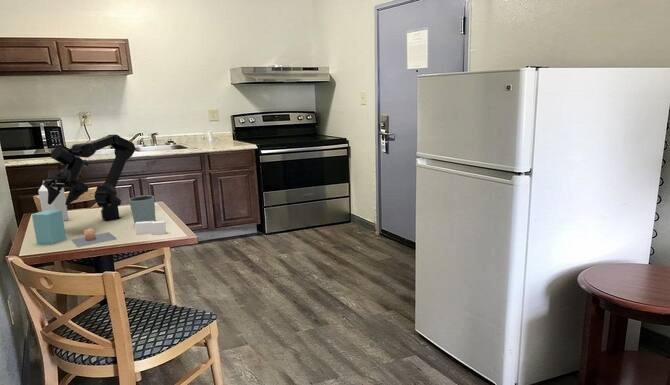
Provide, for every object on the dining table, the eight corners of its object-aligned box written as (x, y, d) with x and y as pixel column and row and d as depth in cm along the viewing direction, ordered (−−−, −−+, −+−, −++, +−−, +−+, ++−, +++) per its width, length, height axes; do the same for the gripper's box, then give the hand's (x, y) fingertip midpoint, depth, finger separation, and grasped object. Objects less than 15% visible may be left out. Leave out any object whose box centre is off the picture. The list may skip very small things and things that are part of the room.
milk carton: (57, 223, 209) (50, 182, 205) (43, 223, 211) (36, 182, 207) (68, 219, 216) (62, 179, 212) (55, 219, 218) (49, 179, 214)
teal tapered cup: (161, 221, 206) (158, 195, 204) (151, 227, 197) (148, 200, 194) (138, 221, 207) (135, 195, 204) (128, 228, 197) (124, 200, 194)
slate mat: (109, 232, 191) (108, 232, 191) (117, 239, 181) (117, 238, 181) (70, 240, 183) (70, 239, 183) (77, 248, 173) (77, 247, 173)
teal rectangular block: (51, 238, 186) (46, 209, 183) (66, 239, 184) (61, 210, 182) (37, 244, 179) (31, 214, 177) (52, 245, 178) (47, 214, 175)
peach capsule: (94, 237, 185) (93, 227, 184) (96, 239, 182) (95, 229, 181) (84, 239, 182) (83, 229, 182) (86, 241, 180) (85, 231, 179)
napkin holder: (128, 236, 187) (126, 223, 185) (151, 229, 196) (150, 216, 195) (152, 241, 179) (150, 227, 178) (176, 233, 188) (174, 220, 187)
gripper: (40, 160, 190) (23, 195, 183) (75, 161, 184) (59, 196, 177) (61, 173, 199) (46, 206, 193) (95, 174, 193) (81, 208, 187)
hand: (57, 204), depth 187 cm, fingers open, 9 cm apart
